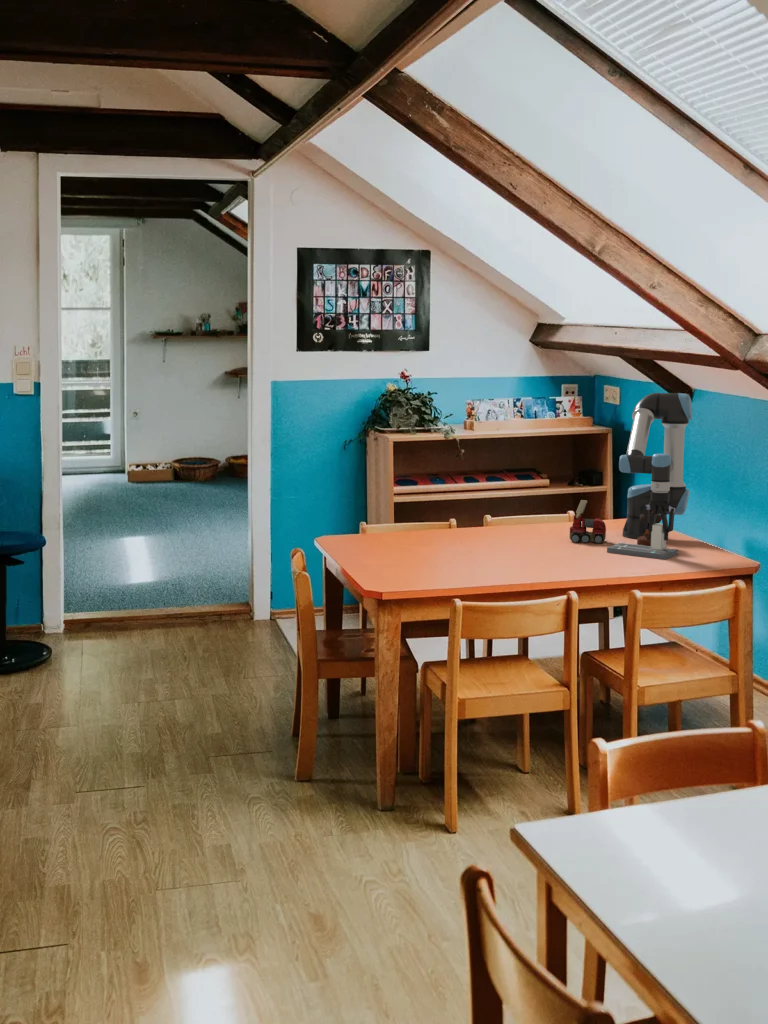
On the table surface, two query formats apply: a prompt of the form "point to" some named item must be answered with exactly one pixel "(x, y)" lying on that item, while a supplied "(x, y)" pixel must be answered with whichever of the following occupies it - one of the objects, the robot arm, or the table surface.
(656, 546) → the fader tab
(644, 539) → the brown tall irregular piece
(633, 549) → the slider board
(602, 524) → the toy fire truck
